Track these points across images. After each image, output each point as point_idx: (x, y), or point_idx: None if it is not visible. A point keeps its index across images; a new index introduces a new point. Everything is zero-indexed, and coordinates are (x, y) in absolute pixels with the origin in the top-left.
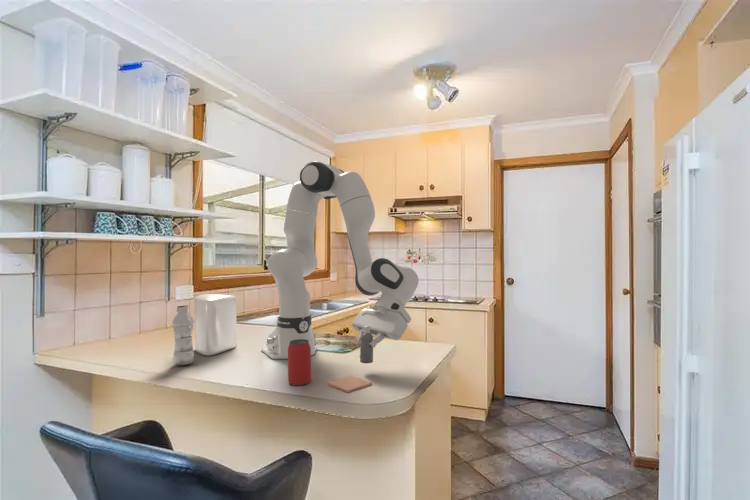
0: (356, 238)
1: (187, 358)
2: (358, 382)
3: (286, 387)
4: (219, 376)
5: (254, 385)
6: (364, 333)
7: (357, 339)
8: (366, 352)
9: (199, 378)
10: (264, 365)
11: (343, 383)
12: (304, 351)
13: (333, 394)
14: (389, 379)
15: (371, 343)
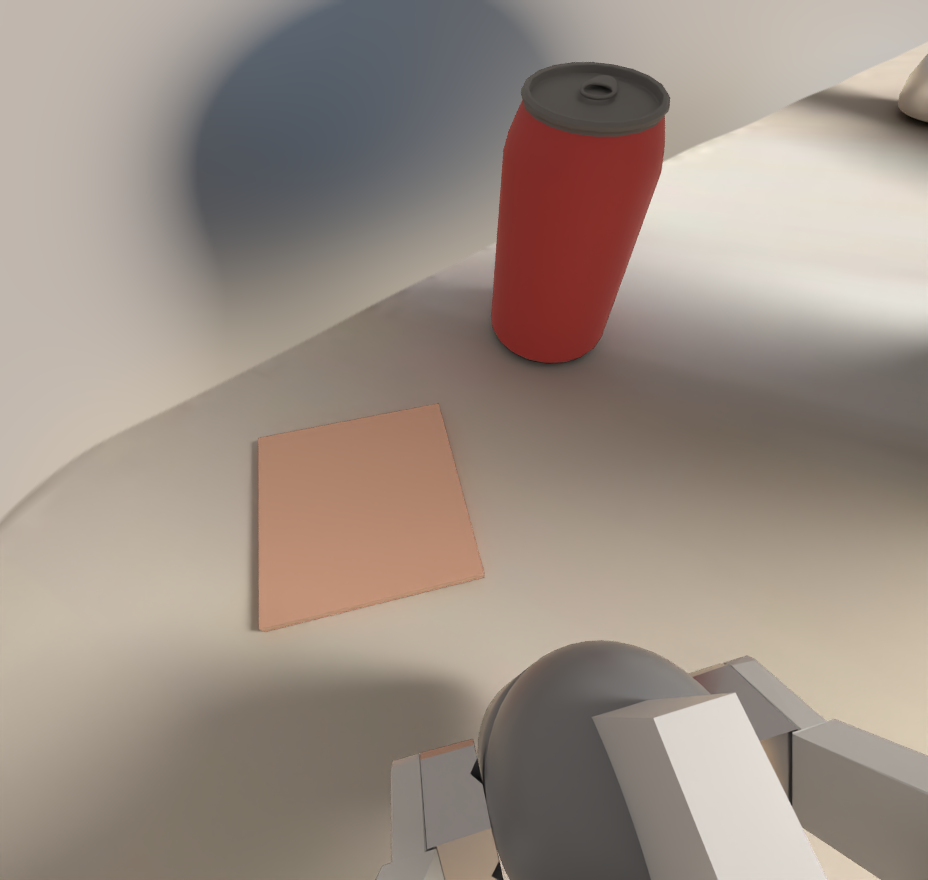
0: None
1: (921, 86)
2: (327, 546)
3: None
4: (744, 164)
5: None
6: (620, 706)
7: (757, 663)
8: (490, 709)
9: (737, 132)
10: (884, 280)
11: (371, 463)
12: (504, 160)
13: (296, 387)
14: (257, 853)
15: (404, 766)
